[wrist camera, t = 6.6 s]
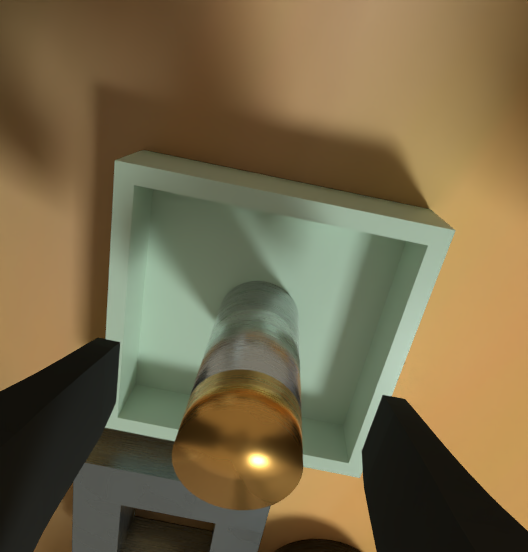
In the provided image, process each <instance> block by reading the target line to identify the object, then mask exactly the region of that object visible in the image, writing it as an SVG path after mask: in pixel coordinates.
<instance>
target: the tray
mask: <svg viewBox="0 0 528 552" xmlns="http://www.w3.org/2000/svg"><path fill="white" fill-rule="evenodd" d="M454 233H455V230H454V229H453V228H452V227H451V226H450V225H448V224H447V223H446V222H445V221H444V220H443V219H441V218H440V217H439V216H438V215H437V214H435V213H434V212H433V211H432V210H431V209H427V208H422V207H417V206H412V205H408V204H403V203H398V202H393V201H388V200H383V199H379V198H374V197H369V196H364V195H359V194H354V193H350V192H345V191H340V190H335V189H330V188H325V187H321V186H316V185H311V184H306V183H301V182H296V181H292V180H287V179H282V178H277V177H272V176H267V175H263V174H258V173H253V172H248V171H243V170H238V169H234V168H229V167H224V166H219V165H214V164H209V163H205V162H200V161H195V160H190V159H185V158H180V157H176V156H171V155H166V154H161V153H156V152H151V151H147V150H141V151H138V152H136V153H133V154H130V155H128V156H125V157H122V158H119V159H117V160H115V167H114V186H113V205H112V224H111V243H110V263H109V282H108V301H107V320H106V339H107V340H112V341H117V342H120V354H119V369H118V383H117V398H116V404H115V406H114V409H113V411H112V413H111V415H110V418H109V420H108V422H107V424H106V426H105V428H110V429H115V430H120V431H125V432H130V433H135V434H140V435H145V436H150V437H155V438H160V439H165V440H170V441H175V439H176V436H177V433H178V430H179V428H180V425H181V422H182V419H183V416H184V413H185V410H186V407H187V404H188V401H189V398H190V395H191V392H192V389H193V386H194V383H195V380H196V377H197V374H198V371H199V368H200V365H201V362H202V359H203V356H204V353H205V350H206V347H207V344H208V341H209V338H210V335H211V332H212V329H213V326H214V323H215V321H216V318H217V315H218V312H219V309H220V306H221V303H222V301H223V299H224V297H225V296H226V294H227V293H228V292H229V291H230V290H232V289H233V288H234V287H236V286H238V285H240V284H242V283H245V282H250V281H265V282H270V283H273V284H275V285H277V286H279V287H281V288H282V289H284V290H285V291H286V292H287V293H288V294H289V295H290V296H291V297H292V299H293V300H294V302H295V304H296V306H297V310H298V319H299V350H300V381H301V412H302V444H303V467H307V468H312V469H317V470H323V471H328V472H333V473H338V474H343V475H348V476H353V477H358V478H360V476H361V474H362V471H363V467H362V449H363V446H364V443H365V441H366V438H367V435H368V433H369V430H370V427H371V425H372V422H373V419H374V417H375V414H376V411H377V409H378V406H379V403H380V401H381V398H382V395H387V396H392V393H393V391H394V388H395V386H396V383H397V380H398V378H399V375H400V373H401V370H402V367H403V365H404V362H405V360H406V357H407V354H408V352H409V349H410V347H411V344H412V342H413V339H414V336H415V334H416V331H417V329H418V326H419V323H420V321H421V318H422V316H423V313H424V310H425V308H426V305H427V303H428V300H429V298H430V295H431V292H432V290H433V287H434V285H435V282H436V279H437V277H438V274H439V272H440V269H441V266H442V264H443V261H444V259H445V256H446V253H447V251H448V248H449V246H450V243H451V241H452V238H453V235H454Z"/></svg>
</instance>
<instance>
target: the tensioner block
mask: <svg viewBox="0 0 528 552" xmlns="http://www.w3.org/2000/svg"><path fill="white" fill-rule="evenodd" d="M174 442H175V441H170V440H165V439H160V438H155V437H150V436H145V435H140V434H135V433H130V432H125V431H120V430H115V429H110V428H104V431H103V433H102V435H101V437H100V438H99V440H98V442H97V443H96V445H95V447H94V448H93V450H92V452H91V453H90V455H89V457H88V458H87V460H86V462H85V463H84V465H83V466H82V468H81V470H80V471H79V473H78V475H77V476H76V478H75V479H74V481H73V529H72V552H258V548H259V545H260V541H261V538H262V534H263V530H264V527H265V523H266V520H267V516H268V513H269V509H270V506H268V507H264V508H260V509H255V510H231V509H226V508H221V507H218V506H214V505H212V504H209V503H207V502H205V501H203V500H201V499H199V498H198V497H196V496H195V495H193V494H192V493H191V492H190V491H189V490H188V489H187V488H186V487H185V486H184V485H183V484H182V483H181V481H180V480H179V478H178V477H177V475H176V473H175V470H174V467H173V463H172V449H173V445H174ZM135 508H138V509H143V510H148V511H153V512H159V513H164V514H169V515H174V516H179V517H184V518H189V519H195V520H200V521H205V522H210V523H214V527H213V532H212V531H207V530H202V529H197V528H191V527H186V526H181V525H176V524H171V523H166V522H161V521H155V520H150V519H145V518H140V517H135ZM276 552H360V551H358V550H356V549H355V548H353V547H350V546H348V545H345V544H343V543H339V542H335V541H329V540H305V541H299V542H295V543H292V544H289V545H286V546H284V547H282V548H280V549H279V550H277V551H276Z"/></svg>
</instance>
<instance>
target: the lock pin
mask: <svg viewBox="0 0 528 552" xmlns="http://www.w3.org/2000/svg"><path fill="white" fill-rule="evenodd" d="M172 463H173V467H174V470H175V473H176V475H177V477H178V478H179V480H180V481H181V483H182V484H183V485H184V486H185V487H186V488H187V489H188V490H189V491H190V492H191V493H192V494H193V495H195V496H196V497H198V498H199V499H201V500H203V501H205V502H207V503H209V504H212V505H214V506H218V507H221V508H226V509H231V510H255V509H260V508H264V507H268V506H271V505H273V504H275V503H277V502H279V501H281V500H283V499H284V498H285V497H287V496H288V495H289V494H290V493H291V492H292V491H293V490H294V489H295V487H296V486H297V485H298V483H299V481H300V479H301V476H302V472H303V444H302V412H301V381H300V350H299V319H298V310H297V306H296V304H295V302H294V300H293V299H292V297H291V296H290V295H289V294H288V293H287V292H286V291H285V290H284V289H282V288H281V287H279V286H277V285H275V284H273V283H270V282H265V281H250V282H245V283H242V284H240V285H238V286H236V287H234V288H233V289H232V290H230V291H229V292H228V293H227V294H226V296H225V297H224V299H223V301H222V303H221V306H220V309H219V312H218V315H217V318H216V321H215V323H214V326H213V329H212V332H211V335H210V338H209V341H208V344H207V347H206V350H205V353H204V356H203V359H202V362H201V365H200V368H199V371H198V374H197V377H196V380H195V383H194V386H193V389H192V392H191V395H190V398H189V401H188V404H187V407H186V410H185V413H184V416H183V419H182V422H181V425H180V428H179V430H178V433H177V436H176V439H175V442H174V445H173V449H172Z"/></svg>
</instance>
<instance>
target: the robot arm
mask: <svg viewBox="0 0 528 552" xmlns="http://www.w3.org/2000/svg"><path fill="white" fill-rule="evenodd" d="M119 354H120V342H117V341H112V340H107V339H102V338H97V339H95V340H93V341H91V342H89V343H88V344H86V345H84V346H82V347H81V348H79V349H77V350H76V351H74V352H72V353H71V354H69V355H67V356H66V357H64V358H62V359H60V360H59V361H57V362H55V363H53V364H51V365H50V366H48V367H46V368H44V369H43V370H41V371H39V372H37V373H36V374H34V375H32V376H30V377H28V378H26V379H24V380H22V381H20V382H18V383H16V384H14V385H12V386H10V387H8V388H6V389H4V390H2V391H0V552H33V551H34V549H35V547H36V545H37V543H38V541H39V539H40V537H41V535H42V533H43V531H44V529H45V528H46V526H47V524H48V522H49V521H50V519H51V517H52V515H53V513H54V512H55V510H56V509H57V507H58V505H59V504H60V502H61V500H62V499H63V497H64V496H65V494H66V492H67V491H68V489H69V487H70V486H71V484H72V483H73V481H74V479H75V478H76V476H77V475H78V473H79V471H80V470H81V468H82V466H83V465H84V463H85V462H86V460H87V458H88V457H89V455H90V453H91V452H92V450H93V448H94V447H95V445H96V443H97V442H98V440H99V438H100V437H101V435H102V433H103V431H104V428H105V426H106V424H107V422H108V420H109V418H110V415H111V413H112V411H113V409H114V406H115V404H116V398H117V383H118V369H119ZM362 467H363V480H364V490H365V495H366V500H367V505H368V511H369V516H370V521H371V526H372V530H373V535H374V540H375V545H376V550H377V552H528V531H527V530H526V529H525V528H524V527H523V526H522V525H521V524H519V523H518V522H517V521H516V520H515V519H514V518H513V517H512V516H511V515H510V514H509V513H508V512H507V511H505V510H504V509H503V508H502V507H501V506H500V505H499V504H498V503H497V502H496V501H495V500H494V499H493V498H492V497H491V496H490V495H489V494H488V493H487V492H486V491H485V490H484V489H483V488H482V486H481V485H480V484H479V483H478V482H477V481H476V480H475V479H474V478H473V477H472V476H471V475H470V474H469V473H468V472H467V471H466V469H465V468H464V467H463V466H462V465H461V464H460V463H459V462H458V461H457V459H456V458H455V457H454V456H453V455H452V454H451V453H450V451H449V450H448V449H447V448H446V447H445V446H444V444H443V443H442V442H441V441H440V440H439V439H438V437H437V436H436V435H435V434H434V433H433V431H432V430H431V429H430V428H429V427H428V425H427V424H426V423H425V422H424V421H423V419H422V418H421V417H420V416H419V415H418V413H417V412H416V411H415V410H414V409H413V408H412V406H411V405H410V404H409V403H408V402H407V401H406V400H405V399H402V398H397V397H392V396H387V395H382V398H381V401H380V403H379V406H378V409H377V411H376V414H375V417H374V419H373V422H372V425H371V427H370V430H369V433H368V435H367V438H366V441H365V443H364V446H363V449H362Z"/></svg>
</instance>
